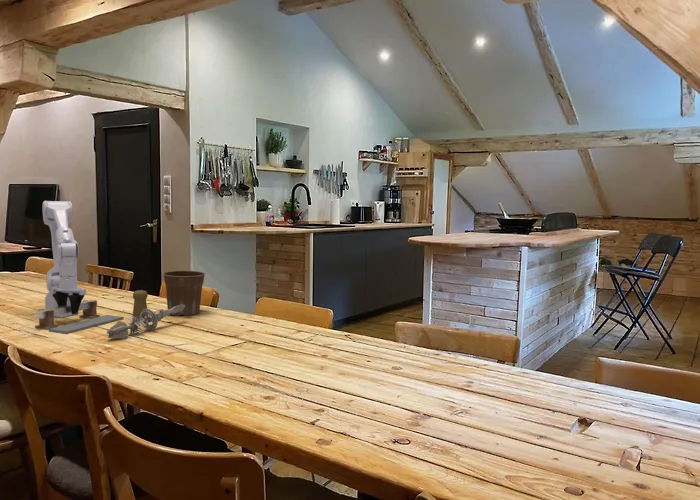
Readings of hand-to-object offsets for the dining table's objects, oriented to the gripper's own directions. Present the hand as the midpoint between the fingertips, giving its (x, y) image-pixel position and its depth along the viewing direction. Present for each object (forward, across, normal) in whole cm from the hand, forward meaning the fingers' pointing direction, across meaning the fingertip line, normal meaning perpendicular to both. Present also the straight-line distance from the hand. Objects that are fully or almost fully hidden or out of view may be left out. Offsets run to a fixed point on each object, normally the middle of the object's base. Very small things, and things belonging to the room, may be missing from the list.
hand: (68, 313), depth 203 cm
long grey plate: (+3, +9, 0) cm, 10 cm away
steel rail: (0, 0, 0) cm, 0 cm away
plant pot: (+4, +26, +32) cm, 41 cm away
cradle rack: (+3, 0, 0) cm, 3 cm away
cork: (+4, +19, +15) cm, 24 cm away
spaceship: (+4, +33, +3) cm, 34 cm away
